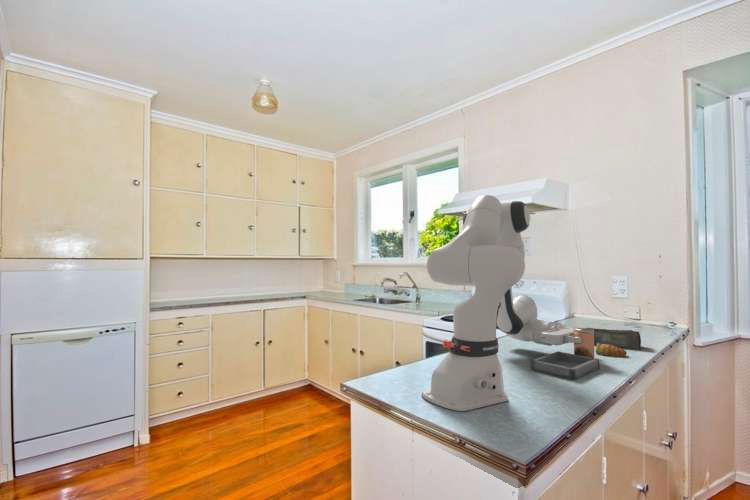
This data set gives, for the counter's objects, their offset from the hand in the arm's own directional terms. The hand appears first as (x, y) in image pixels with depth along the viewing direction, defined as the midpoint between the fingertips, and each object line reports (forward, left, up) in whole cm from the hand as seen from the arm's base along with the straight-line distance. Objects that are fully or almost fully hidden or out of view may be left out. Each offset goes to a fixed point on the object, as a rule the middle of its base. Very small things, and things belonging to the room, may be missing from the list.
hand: (586, 339), depth 122 cm
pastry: (+18, 0, -8) cm, 20 cm away
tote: (-14, +1, -8) cm, 16 cm away
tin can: (0, +1, -8) cm, 8 cm away
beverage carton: (+35, +5, -8) cm, 36 cm away
